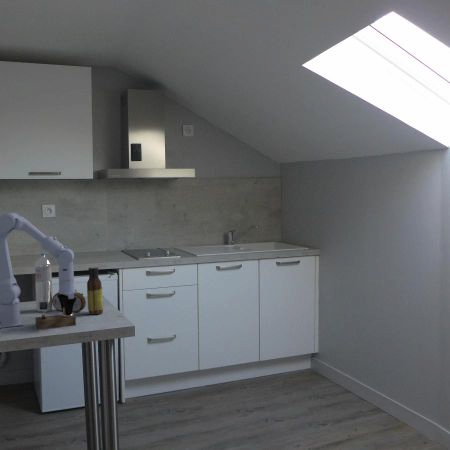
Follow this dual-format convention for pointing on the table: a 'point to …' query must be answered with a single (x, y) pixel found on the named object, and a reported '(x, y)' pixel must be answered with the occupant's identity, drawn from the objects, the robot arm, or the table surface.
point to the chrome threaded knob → (43, 308)
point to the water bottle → (43, 281)
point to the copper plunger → (65, 314)
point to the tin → (78, 303)
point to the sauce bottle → (94, 292)
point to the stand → (54, 321)
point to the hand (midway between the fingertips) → (66, 313)
